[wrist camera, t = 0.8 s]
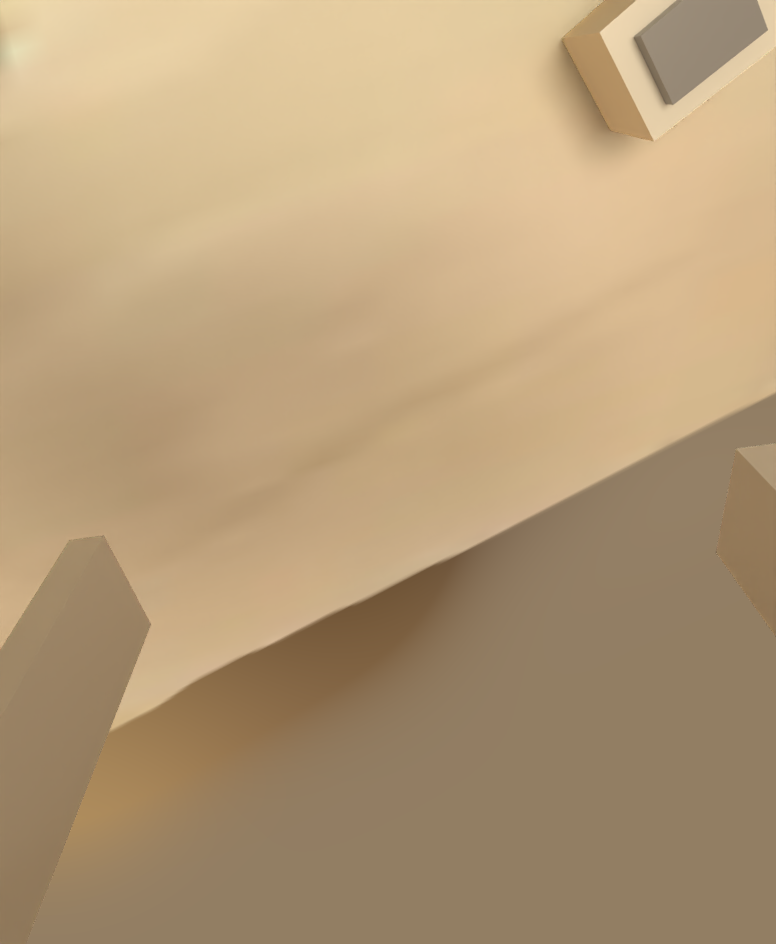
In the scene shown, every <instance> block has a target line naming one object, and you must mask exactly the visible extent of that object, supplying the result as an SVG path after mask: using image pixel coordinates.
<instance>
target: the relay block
mask: <svg viewBox="0 0 776 944" xmlns="http://www.w3.org/2000/svg"><path fill="white" fill-rule="evenodd" d="M562 41H563V43H564V45H565V47H566V49H567V51H568V53H569V54H570V56H571V58H572V60H573V62H574V64H575V66H576V68H577V69H578V71H579V73H580V75H581V77H582V79H583V81H584V83H585V84H586V86H587V88H588V90H589V92H590V94H591V96H592V98H593V99H594V101H595V103H596V105H597V107H598V109H599V111H600V113H601V114H602V116H603V118H604V120H605V122H606V124H607V126H608V128H609V129H610V131H614V132H618V133H622V134H626V135H630V136H634V137H638V138H642V139H646V140H650V141H656V140H657V139H658V138H660V137H661V136H662V135H663V134H665V133H666V132H667V131H669V130H670V129H671V128H672V127H674V126H675V125H676V124H678V123H679V122H680V121H681V120H683V119H684V118H685V117H687V116H688V115H689V114H690V113H692V112H693V111H694V110H696V109H697V108H698V107H699V106H701V105H702V104H703V103H705V102H706V101H707V100H708V99H710V98H711V97H712V96H714V95H715V94H716V93H717V92H719V91H720V90H721V89H723V88H724V87H725V86H726V85H728V84H729V83H730V82H732V81H733V80H734V79H735V78H737V77H738V76H739V75H741V74H742V73H743V72H744V71H746V70H747V69H748V68H750V67H751V66H752V65H753V64H755V63H756V62H757V61H759V60H760V59H761V58H762V57H764V56H765V55H766V54H768V53H769V52H770V51H771V50H773V49H774V48H775V47H776V0H604V1H603V2H602V3H601V4H600V5H599V6H598V7H597V8H595V9H594V10H593V11H592V12H591V13H590V14H589V15H588V16H586V17H585V18H584V19H583V20H582V21H581V22H580V23H579V24H577V25H576V26H575V27H574V28H573V29H572V30H571V31H570V32H568V33H567V34H566V35H565V36H564V37H563V38H562Z"/></svg>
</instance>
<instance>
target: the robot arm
mask: <svg viewBox="0 0 776 944" xmlns="http://www.w3.org/2000/svg"><path fill="white" fill-rule="evenodd" d="M716 553H717V555H718V556H719V557H720V559H721V560H722V562H723V563H724V565H725V566H726V567H727V569H728V570H729V572H730V573H731V574H732V576H733V577H734V579H735V580H736V581H737V583H738V584H739V586H740V587H741V588H742V590H743V591H744V593H745V594H746V595H747V597H748V598H749V600H750V601H751V603H752V604H753V606H754V607H755V608H756V610H757V611H758V613H759V614H760V615H761V617H762V618H763V619H764V621H765V622H766V624H767V625H768V627H769V628H770V629H771V631H772V632H773V634H774V635H775V637H776V443H773V444H766V445H759V446H752V447H744V448H737V449H736V451H735V456H734V461H733V466H732V471H731V477H730V482H729V487H728V492H727V497H726V503H725V508H724V513H723V518H722V523H721V528H720V534H719V538H718V544H717V549H716ZM150 626H151V623H150V621H149V619H148V618H147V616H146V614H145V612H144V610H143V608H142V606H141V604H140V603H139V601H138V599H137V597H136V595H135V593H134V591H133V589H132V588H131V586H130V584H129V582H128V580H127V578H126V576H125V574H124V573H123V571H122V569H121V567H120V565H119V563H118V561H117V559H116V558H115V556H114V554H113V552H112V550H111V548H110V546H109V544H108V543H107V541H106V539H105V537H104V536H98V537H90V538H83V539H76V540H69V542H68V543H67V545H66V547H65V548H64V550H63V551H62V553H61V554H60V556H59V558H58V559H57V561H56V562H55V564H54V566H53V567H52V569H51V570H50V572H49V573H48V575H47V577H46V578H45V580H44V581H43V583H42V585H41V586H40V588H39V589H38V591H37V592H36V594H35V596H34V597H33V599H32V600H31V602H30V604H29V605H28V607H27V608H26V610H25V611H24V613H23V615H22V616H21V618H20V619H19V621H18V623H17V624H16V626H15V627H14V629H13V630H12V632H11V634H10V635H9V637H8V638H7V640H6V642H5V643H4V645H3V646H2V648H1V649H0V944H26V942H27V939H28V937H29V935H30V932H31V929H32V927H33V924H34V922H35V919H36V917H37V914H38V912H39V909H40V906H41V904H42V901H43V899H44V896H45V893H46V891H47V889H48V886H49V883H50V881H51V878H52V876H53V873H54V871H55V868H56V866H57V863H58V860H59V858H60V855H61V853H62V850H63V847H64V845H65V843H66V840H67V837H68V835H69V832H70V830H71V827H72V824H73V822H74V820H75V817H76V815H77V812H78V809H79V807H80V804H81V802H82V799H83V797H84V794H85V791H86V789H87V786H88V784H89V781H90V779H91V776H92V774H93V771H94V768H95V766H96V763H97V761H98V758H99V755H100V753H101V750H102V748H103V745H104V743H105V740H106V738H107V735H108V733H109V730H110V728H111V725H112V723H113V720H114V717H115V715H116V712H117V710H118V707H119V705H120V702H121V700H122V697H123V694H124V692H125V689H126V687H127V684H128V682H129V679H130V677H131V674H132V671H133V669H134V666H135V664H136V661H137V659H138V656H139V654H140V651H141V649H142V646H143V643H144V641H145V638H146V636H147V633H148V631H149V628H150Z"/></svg>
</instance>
